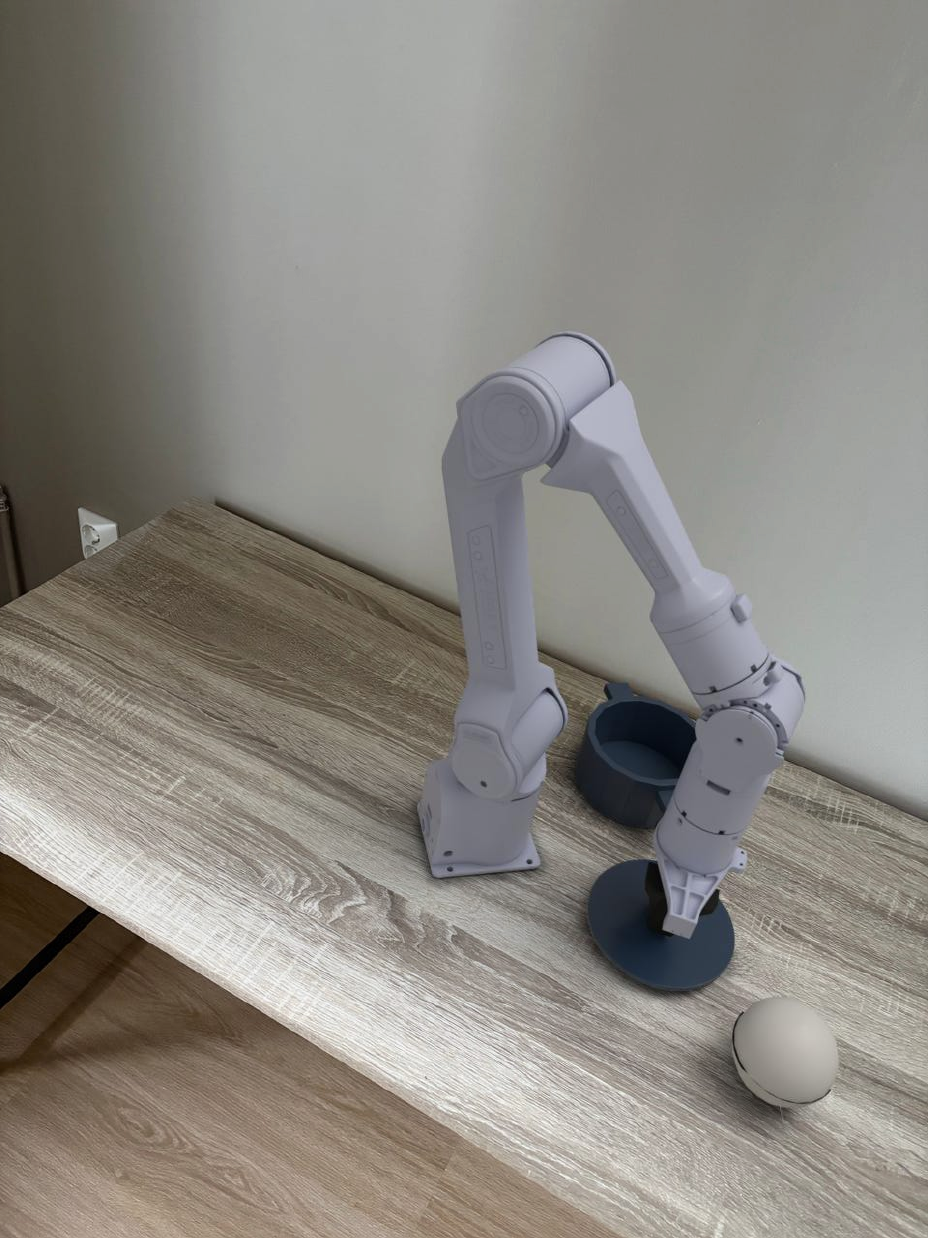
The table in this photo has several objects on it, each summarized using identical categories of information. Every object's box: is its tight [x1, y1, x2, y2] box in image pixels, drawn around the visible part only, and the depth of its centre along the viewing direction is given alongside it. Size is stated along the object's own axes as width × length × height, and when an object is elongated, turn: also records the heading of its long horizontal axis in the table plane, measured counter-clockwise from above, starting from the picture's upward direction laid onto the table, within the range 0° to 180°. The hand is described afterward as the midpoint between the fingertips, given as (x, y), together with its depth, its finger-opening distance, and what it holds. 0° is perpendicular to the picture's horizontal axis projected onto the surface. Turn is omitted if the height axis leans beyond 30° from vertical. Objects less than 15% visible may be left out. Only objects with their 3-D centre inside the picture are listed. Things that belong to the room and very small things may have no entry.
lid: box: [586, 858, 736, 992], centre depth 79 cm, size 12×12×5 cm
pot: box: [574, 681, 697, 829], centre depth 92 cm, size 11×17×6 cm
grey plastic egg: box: [731, 996, 840, 1140], centre depth 69 cm, size 10×7×7 cm
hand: (662, 915), depth 80 cm, fingers closed on lid, 2 cm apart
